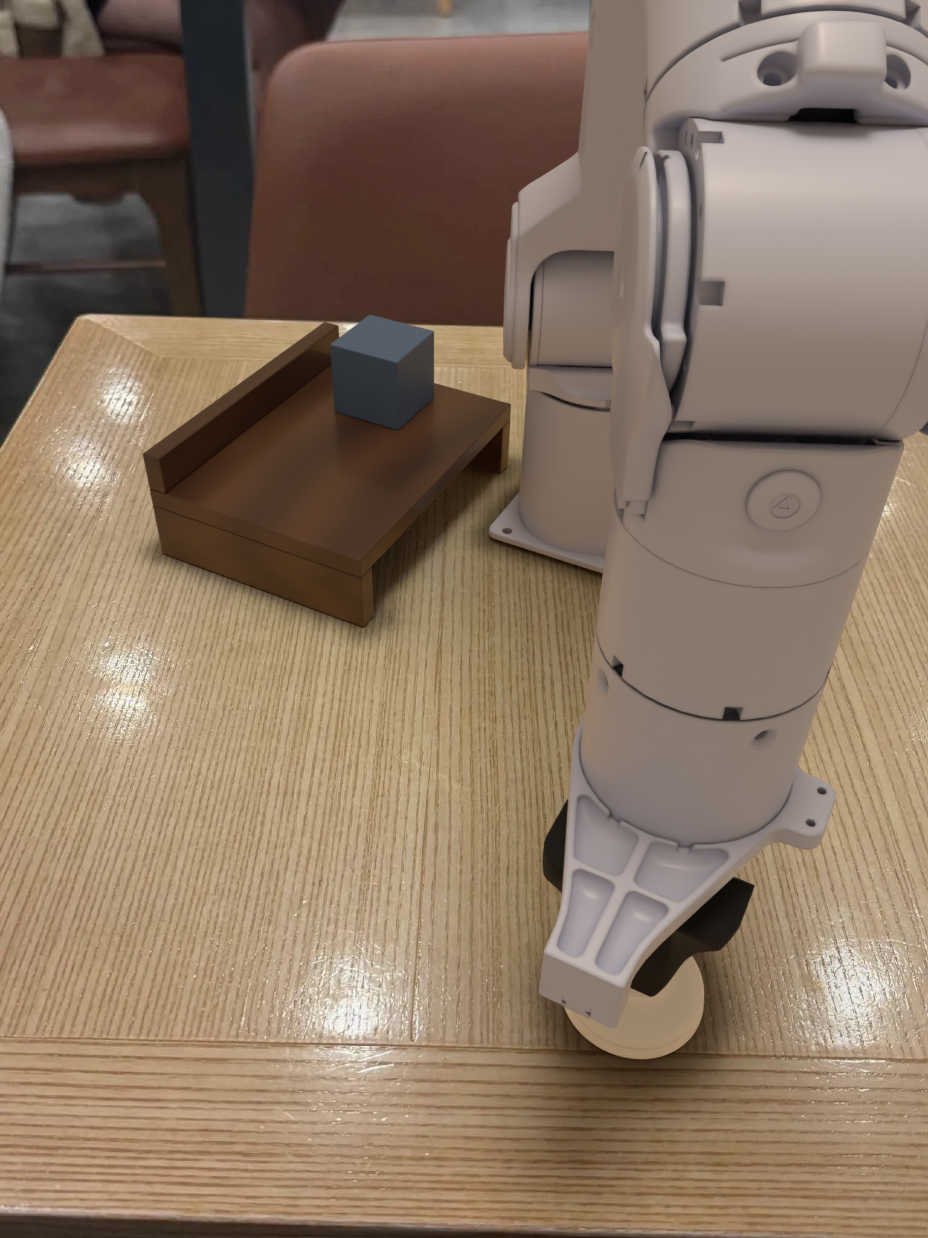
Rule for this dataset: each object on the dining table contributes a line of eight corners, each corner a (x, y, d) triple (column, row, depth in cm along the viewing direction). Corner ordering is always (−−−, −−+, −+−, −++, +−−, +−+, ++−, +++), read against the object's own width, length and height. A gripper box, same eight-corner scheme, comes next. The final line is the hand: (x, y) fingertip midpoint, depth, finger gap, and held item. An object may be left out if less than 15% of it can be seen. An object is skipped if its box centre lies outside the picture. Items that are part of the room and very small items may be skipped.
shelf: (508, 465, 63) (513, 370, 59) (363, 627, 52) (358, 525, 48) (330, 412, 67) (324, 320, 63) (162, 553, 56) (141, 453, 52)
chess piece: (667, 1088, 35) (723, 908, 29) (534, 1011, 37) (557, 826, 31) (725, 972, 38) (786, 786, 32) (599, 907, 40) (633, 719, 34)
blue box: (434, 397, 60) (434, 330, 58) (398, 430, 58) (397, 362, 55) (372, 380, 62) (369, 313, 59) (334, 412, 59) (329, 343, 56)
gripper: (800, 932, 21) (688, 1215, 30) (929, 529, 30) (816, 834, 39) (467, 795, 23) (457, 1096, 32) (687, 462, 33) (632, 763, 42)
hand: (641, 945), depth 36 cm, fingers closed on chess piece
